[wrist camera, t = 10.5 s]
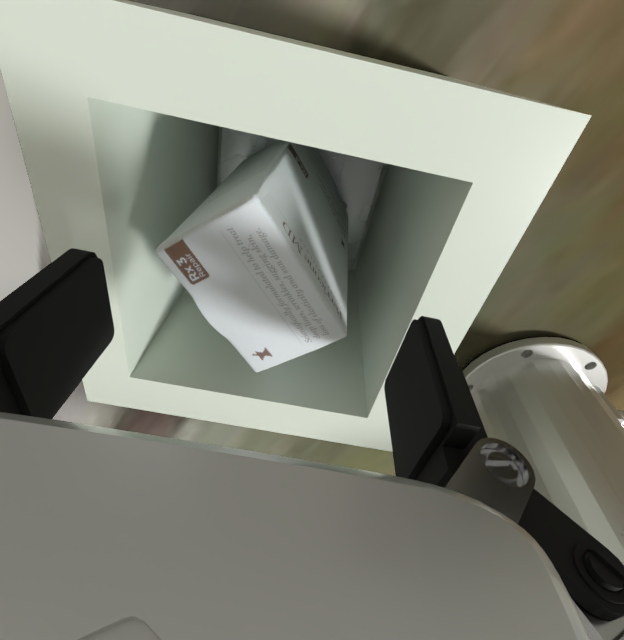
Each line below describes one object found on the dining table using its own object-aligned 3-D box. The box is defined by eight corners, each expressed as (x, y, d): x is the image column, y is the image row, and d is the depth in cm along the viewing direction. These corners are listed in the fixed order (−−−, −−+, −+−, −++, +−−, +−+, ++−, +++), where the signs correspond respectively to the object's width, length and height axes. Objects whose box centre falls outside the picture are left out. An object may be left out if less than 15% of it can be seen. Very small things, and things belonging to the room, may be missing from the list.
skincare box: (351, 216, 23) (361, 341, 13) (289, 247, 24) (257, 381, 15) (301, 117, 20) (265, 186, 10) (233, 160, 21) (146, 256, 11)
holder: (448, 76, 20) (591, 115, 9) (373, 291, 28) (397, 452, 17) (189, 13, 19) (-27, -34, 8) (190, 255, 27) (87, 400, 16)
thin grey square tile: (393, 118, 20) (396, 121, 20) (351, 263, 26) (351, 270, 25) (228, 80, 20) (223, 81, 19) (221, 237, 25) (217, 243, 24)
